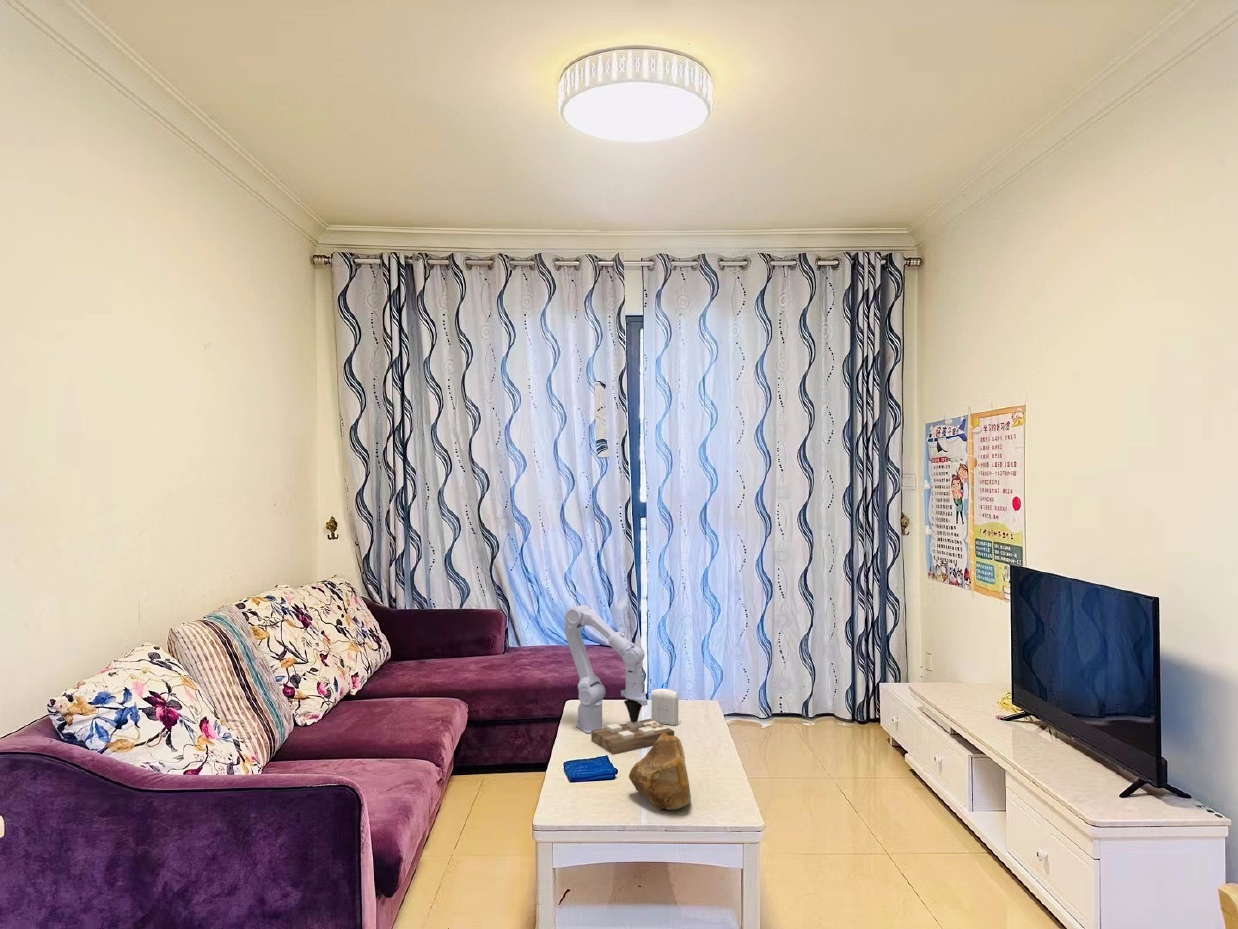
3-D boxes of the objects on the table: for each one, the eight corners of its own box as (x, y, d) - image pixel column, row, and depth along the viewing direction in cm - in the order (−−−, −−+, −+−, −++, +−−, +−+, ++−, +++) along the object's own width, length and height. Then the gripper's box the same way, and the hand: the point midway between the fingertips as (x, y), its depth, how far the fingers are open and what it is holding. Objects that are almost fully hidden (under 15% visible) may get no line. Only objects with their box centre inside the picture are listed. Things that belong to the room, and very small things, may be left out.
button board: (591, 740, 255) (591, 729, 255) (650, 728, 267) (650, 718, 267) (613, 754, 242) (613, 742, 242) (674, 741, 254) (674, 730, 255)
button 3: (626, 725, 261) (626, 721, 261) (635, 724, 263) (635, 720, 263) (632, 729, 257) (632, 725, 257) (641, 727, 259) (641, 723, 259)
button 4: (638, 732, 254) (638, 728, 254) (648, 730, 256) (648, 726, 256) (644, 736, 250) (644, 731, 250) (654, 733, 252) (654, 729, 252)
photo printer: (680, 723, 274) (679, 689, 274) (676, 726, 270) (676, 692, 270) (653, 719, 278) (653, 686, 278) (649, 723, 274) (649, 689, 274)
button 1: (606, 729, 257) (606, 725, 257) (616, 727, 259) (616, 723, 259) (612, 733, 253) (612, 729, 253) (622, 731, 255) (622, 727, 255)
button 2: (618, 736, 250) (617, 732, 250) (628, 734, 252) (628, 730, 252) (624, 740, 246) (624, 736, 246) (634, 738, 248) (634, 733, 248)
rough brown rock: (630, 782, 222) (625, 733, 222) (685, 777, 222) (681, 727, 222) (631, 821, 199) (626, 765, 198) (693, 815, 199) (688, 759, 198)
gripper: (654, 685, 256) (655, 725, 256) (632, 675, 268) (633, 713, 268) (637, 688, 252) (637, 728, 252) (615, 678, 265) (616, 717, 265)
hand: (634, 721), depth 260 cm, fingers closed
